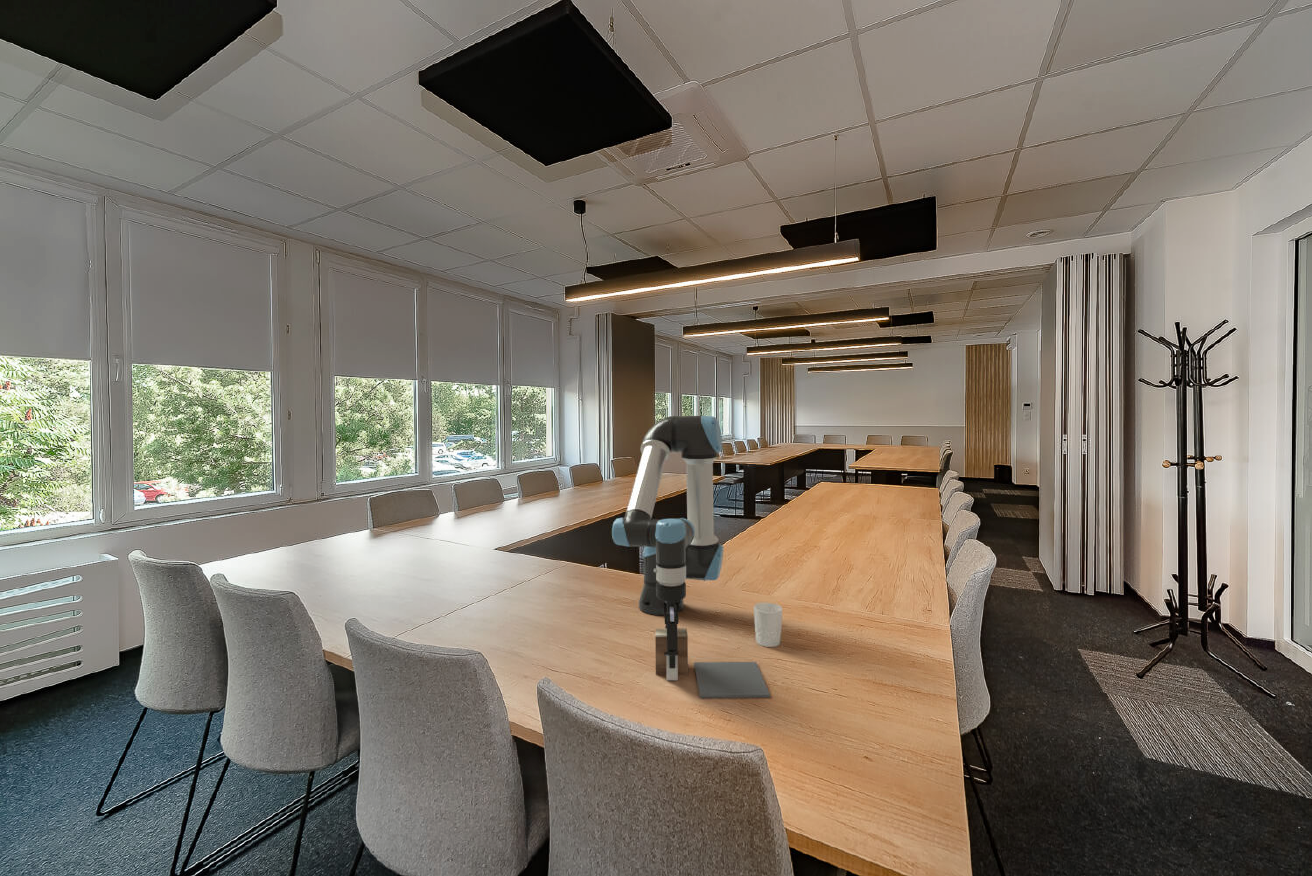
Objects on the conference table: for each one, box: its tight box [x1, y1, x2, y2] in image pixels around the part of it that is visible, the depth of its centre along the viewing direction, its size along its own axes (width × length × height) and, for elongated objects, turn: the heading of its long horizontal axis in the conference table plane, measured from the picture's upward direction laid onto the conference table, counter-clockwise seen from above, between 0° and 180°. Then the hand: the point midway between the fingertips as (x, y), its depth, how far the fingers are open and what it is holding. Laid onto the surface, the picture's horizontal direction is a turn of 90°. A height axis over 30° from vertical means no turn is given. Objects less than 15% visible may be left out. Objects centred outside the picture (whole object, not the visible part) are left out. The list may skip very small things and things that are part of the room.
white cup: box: [753, 602, 783, 648], centre depth 145 cm, size 8×8×10 cm
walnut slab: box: [654, 627, 689, 676], centre depth 129 cm, size 4×8×10 cm, turn 90°
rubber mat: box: [693, 661, 771, 699], centre depth 124 cm, size 16×16×1 cm
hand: (671, 669), depth 129 cm, fingers open, 9 cm apart
